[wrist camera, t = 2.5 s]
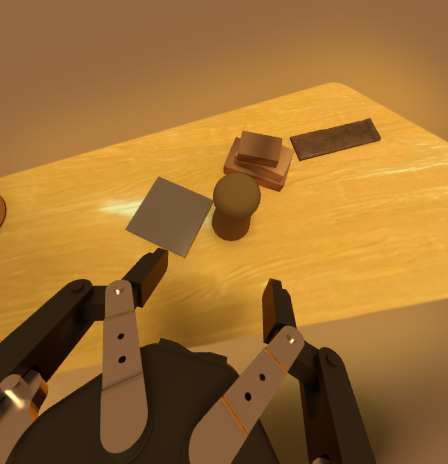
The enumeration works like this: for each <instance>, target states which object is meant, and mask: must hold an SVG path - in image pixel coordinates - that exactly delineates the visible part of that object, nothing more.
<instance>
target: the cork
mask: <svg viewBox="0 0 448 464" xmlns="http://www.w3.org/2000/svg"><path fill="white" fill-rule="evenodd" d="M260 198H261V192H260V188H259V186H258V184H257V183H256V181H255V180H254V179H252V178H251V177H250V176H248V175H246V174H244V173H230V174H228V175H226V176H223V177H222V178H221V179H220V180H219V181H218V183H217V184H216V186H215V188H214V193H213V200H214V205H215V207H216V209H215V212H214V215H213V219H212V226H213V229H214V231H215V233H216V234H217V235H218V236H219V237H220V238H222V239H224V240H228V241H234V240H238V239H240V238H242V237H243V236H244V235H245V234H246V233H247V231H248V229H249V225H250V218H251V215H252V214H253V213H254V212H255V211H256V210H257V208H258V206H259V204H260Z"/></svg>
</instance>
